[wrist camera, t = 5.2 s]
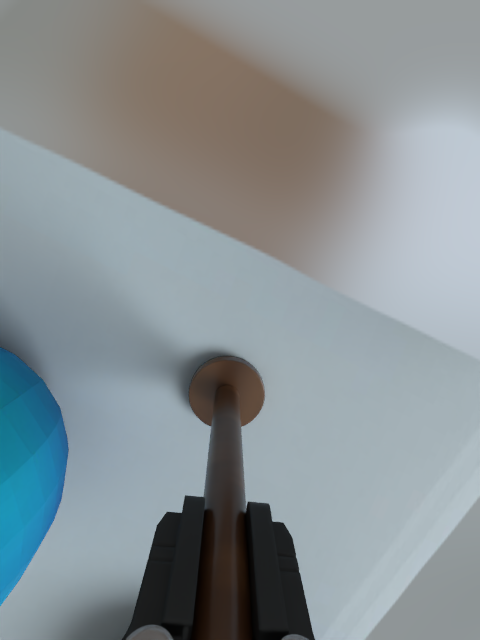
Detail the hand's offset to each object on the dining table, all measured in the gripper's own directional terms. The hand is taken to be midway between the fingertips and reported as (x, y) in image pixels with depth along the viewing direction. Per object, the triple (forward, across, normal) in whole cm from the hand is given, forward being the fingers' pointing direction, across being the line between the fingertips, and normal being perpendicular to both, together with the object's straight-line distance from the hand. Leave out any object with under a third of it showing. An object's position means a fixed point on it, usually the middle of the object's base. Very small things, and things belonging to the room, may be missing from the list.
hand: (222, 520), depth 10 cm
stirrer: (+10, 0, 0) cm, 10 cm away
